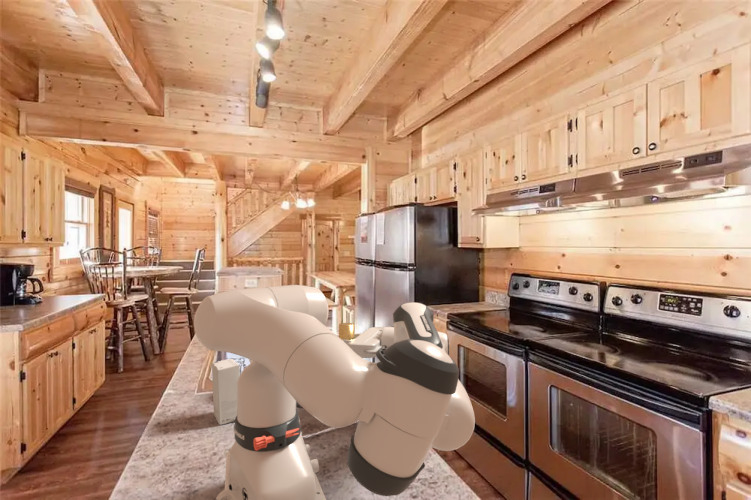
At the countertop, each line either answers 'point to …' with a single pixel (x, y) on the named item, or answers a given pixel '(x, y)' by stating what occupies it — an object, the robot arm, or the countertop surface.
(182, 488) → the countertop surface
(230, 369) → the skincare box
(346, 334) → the billet
